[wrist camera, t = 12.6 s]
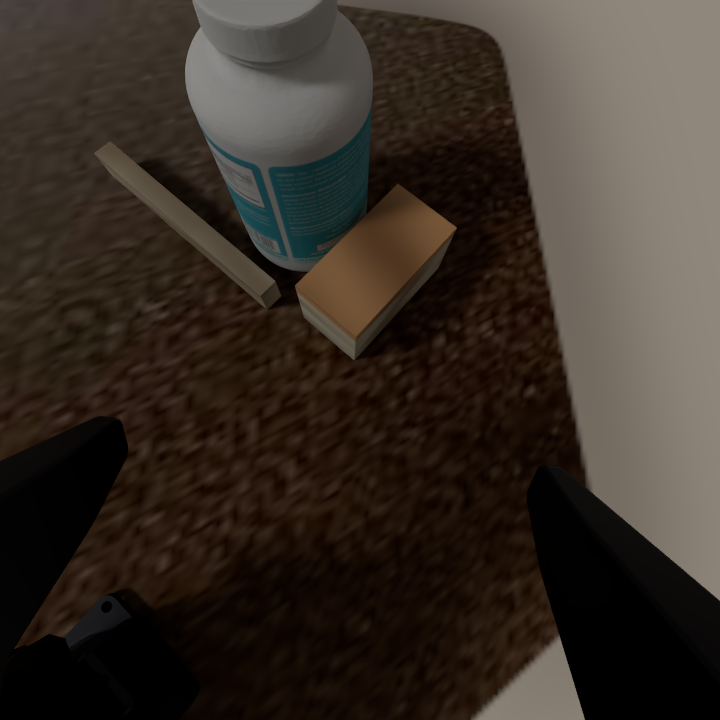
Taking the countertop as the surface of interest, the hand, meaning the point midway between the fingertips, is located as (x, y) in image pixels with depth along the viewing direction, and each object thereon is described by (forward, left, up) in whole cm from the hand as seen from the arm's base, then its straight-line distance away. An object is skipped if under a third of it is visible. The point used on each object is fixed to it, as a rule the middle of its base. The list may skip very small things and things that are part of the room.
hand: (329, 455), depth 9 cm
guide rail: (+4, +16, -14) cm, 22 cm away
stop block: (+9, +5, -14) cm, 17 cm away
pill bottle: (+10, +11, -14) cm, 20 cm away
